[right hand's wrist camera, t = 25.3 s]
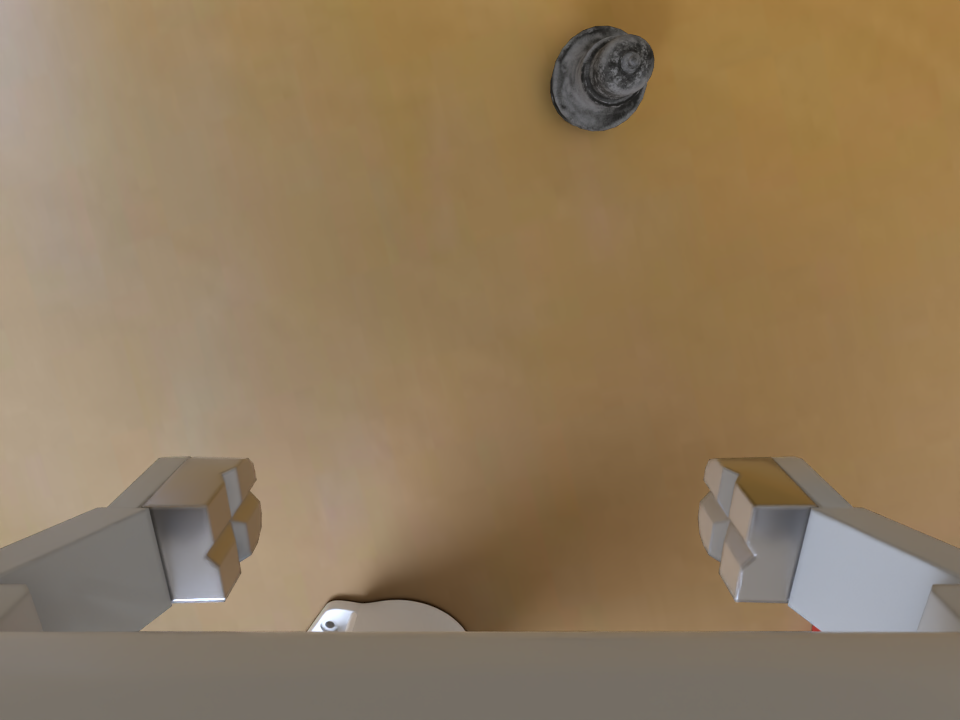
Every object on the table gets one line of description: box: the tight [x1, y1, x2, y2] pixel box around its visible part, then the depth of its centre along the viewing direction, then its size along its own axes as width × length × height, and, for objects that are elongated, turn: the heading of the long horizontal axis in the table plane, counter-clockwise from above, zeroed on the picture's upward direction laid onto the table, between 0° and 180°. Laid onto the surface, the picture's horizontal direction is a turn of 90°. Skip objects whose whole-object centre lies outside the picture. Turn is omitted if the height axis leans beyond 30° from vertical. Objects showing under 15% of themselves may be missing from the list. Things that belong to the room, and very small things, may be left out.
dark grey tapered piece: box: [550, 26, 654, 131], centre depth 33 cm, size 6×6×12 cm
